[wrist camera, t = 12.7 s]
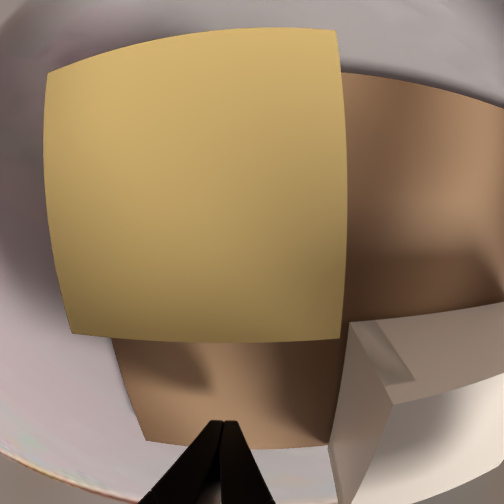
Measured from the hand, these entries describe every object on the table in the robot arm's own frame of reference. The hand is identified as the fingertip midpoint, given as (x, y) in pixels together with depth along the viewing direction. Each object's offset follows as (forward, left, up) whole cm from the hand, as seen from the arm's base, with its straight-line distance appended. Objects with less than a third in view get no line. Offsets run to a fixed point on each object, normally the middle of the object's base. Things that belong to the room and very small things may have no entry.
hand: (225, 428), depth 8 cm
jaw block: (0, -7, -1) cm, 7 cm away
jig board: (-4, -4, -2) cm, 6 cm away
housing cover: (-7, 0, -1) cm, 7 cm away
